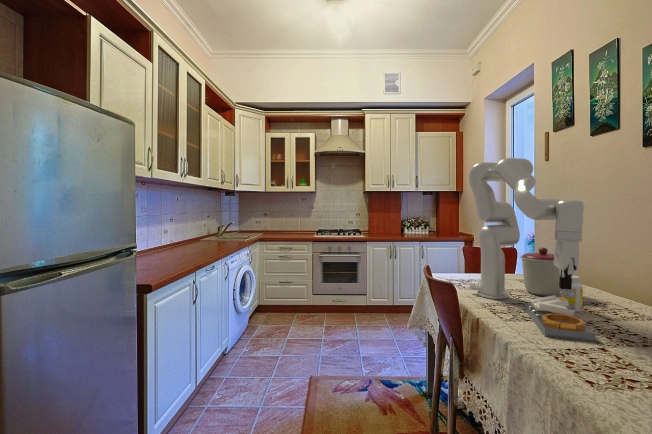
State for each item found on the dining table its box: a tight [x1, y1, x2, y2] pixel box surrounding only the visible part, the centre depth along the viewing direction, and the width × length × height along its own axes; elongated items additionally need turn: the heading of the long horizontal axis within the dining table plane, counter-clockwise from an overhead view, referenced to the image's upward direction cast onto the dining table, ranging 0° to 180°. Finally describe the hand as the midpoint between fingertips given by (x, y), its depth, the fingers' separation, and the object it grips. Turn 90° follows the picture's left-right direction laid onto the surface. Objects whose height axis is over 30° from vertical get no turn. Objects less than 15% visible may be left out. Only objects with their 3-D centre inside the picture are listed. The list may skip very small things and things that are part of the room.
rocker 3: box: [537, 301, 575, 316], centre depth 112 cm, size 10×3×2 cm, turn 70°
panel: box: [525, 304, 596, 343], centre depth 110 cm, size 13×26×4 cm, turn 160°
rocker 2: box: [533, 297, 569, 311], centre depth 116 cm, size 10×3×2 cm, turn 69°
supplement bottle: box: [560, 275, 584, 313], centre depth 126 cm, size 7×7×13 cm
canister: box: [519, 247, 562, 297], centre depth 150 cm, size 18×18×21 cm
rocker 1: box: [529, 293, 563, 307], centre depth 121 cm, size 10×3×2 cm, turn 69°
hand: (565, 288), depth 114 cm, fingers closed
